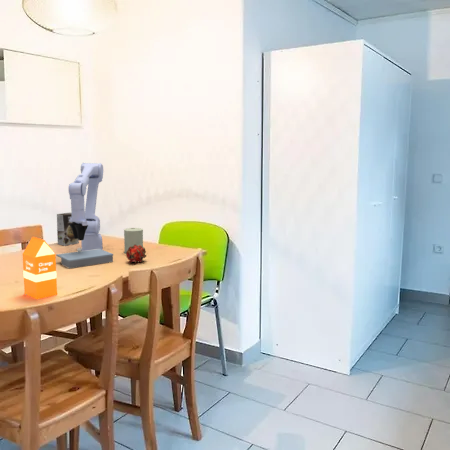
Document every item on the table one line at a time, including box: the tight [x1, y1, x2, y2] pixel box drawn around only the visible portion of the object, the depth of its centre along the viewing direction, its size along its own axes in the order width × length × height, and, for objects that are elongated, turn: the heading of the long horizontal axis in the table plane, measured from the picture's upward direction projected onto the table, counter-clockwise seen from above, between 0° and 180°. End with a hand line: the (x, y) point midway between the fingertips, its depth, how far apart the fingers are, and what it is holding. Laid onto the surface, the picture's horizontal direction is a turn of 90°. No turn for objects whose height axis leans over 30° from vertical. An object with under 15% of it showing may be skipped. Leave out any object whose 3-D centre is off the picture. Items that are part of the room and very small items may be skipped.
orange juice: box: [21, 236, 58, 300], centre depth 170 cm, size 8×9×20 cm
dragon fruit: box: [125, 244, 147, 264], centre depth 219 cm, size 8×8×12 cm
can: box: [123, 227, 144, 255], centre depth 238 cm, size 9×9×12 cm
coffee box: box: [56, 212, 80, 247], centre depth 257 cm, size 9×6×16 cm
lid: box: [55, 247, 114, 262], centre depth 218 cm, size 20×14×3 cm
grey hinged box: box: [60, 254, 114, 269], centre depth 217 cm, size 20×9×3 cm, turn 130°
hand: (79, 239), depth 222 cm, fingers open, 4 cm apart
